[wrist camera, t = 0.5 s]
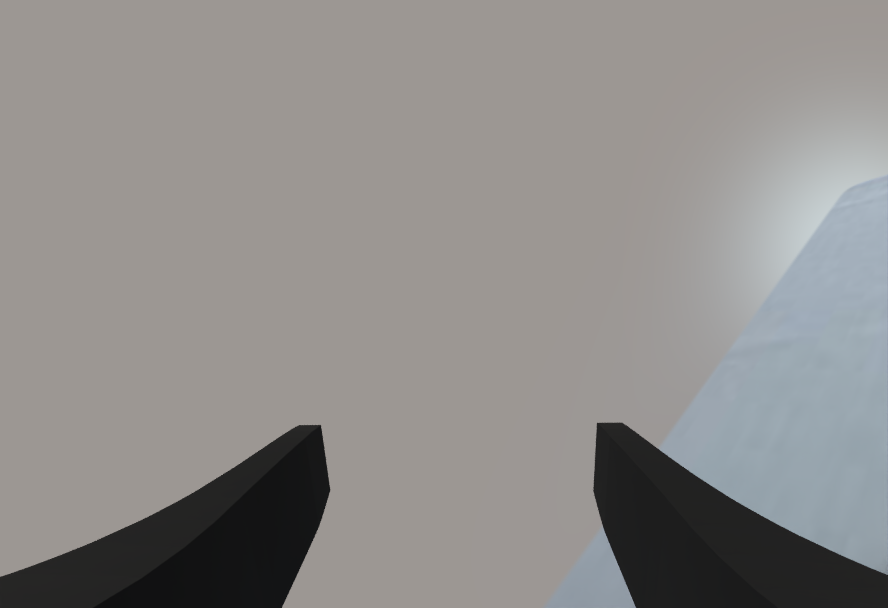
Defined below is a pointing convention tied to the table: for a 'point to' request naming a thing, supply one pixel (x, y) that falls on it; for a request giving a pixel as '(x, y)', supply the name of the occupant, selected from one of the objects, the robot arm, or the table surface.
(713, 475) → the table surface
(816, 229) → the table surface
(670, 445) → the table surface
